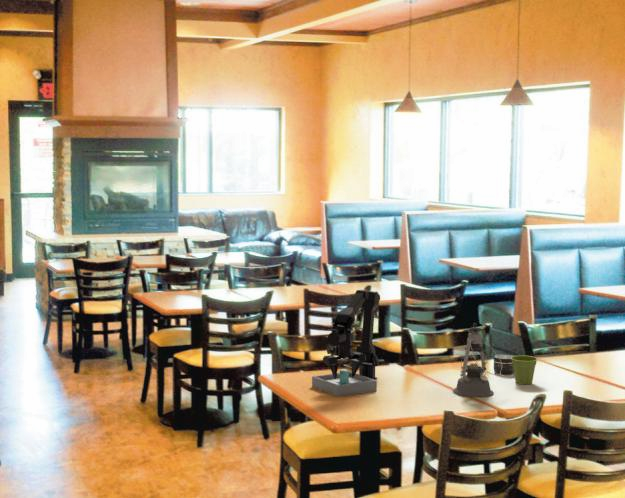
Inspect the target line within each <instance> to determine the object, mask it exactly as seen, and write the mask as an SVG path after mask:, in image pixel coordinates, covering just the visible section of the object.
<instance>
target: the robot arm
mask: <svg viewBox="0 0 625 498" xmlns="http://www.w3.org/2000/svg"><path fill="white" fill-rule="evenodd" d="M380 302H381V295H380V294H379V292H378V291H375V290H367V289H366V290H365V289H356V291H355V294H354V295H353V297H352V298H351V300H350V302H348V305H347V306H346V307H345V308H343V309H341V310H340V311H339V312H337V314H336V315H335V318H334V321H333V324H332V326H331V332H330V333H329V334H328V336H327V342H328V344H329V345H330V346H326V352H327V354H326V355H324V356H323V357H322V363H324V364H325V365H327V366H328V367H329V368H330V371H331V374H333V377H334V379H336V378H337V373H338V370H339V364H338V362H341V361H350V360H351V363H352V368H351V372H352V377H354V376H355V374H357V372H358V370H359V372H358V374H359V375H362V376H365V377H368V378H371V379H374V380H377V379H378V377H377V376H376V367H378V366H379V361H380V360H379V358H378V356H377V355H376V348H375V346H374V343H373V338H374V337H373V336H374V327H375V326H374V324H375V311H376V310H377V308H378V307H379V306H380ZM360 308H362V309H363V315H362V316H363V317H362V319H363V320H362V329H361V341H362V342H361V344H360V345H359V346H358V347H357V352H355V353H352V354H351V348H352V347H353V345H351V342H352V331H354V328H353V326H354V324H355V322H356V315H357V313H358V312H359V310H360ZM359 366H360V367H359Z"/></svg>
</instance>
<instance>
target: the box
mask: <svg viewBox="0 0 625 498" xmlns="http://www.w3.org/2000/svg"><path fill="white" fill-rule="evenodd" d="M377 381H378V380H377V379H371V378H368V377H365V376H362V375H359V373H356V374H355V376H354V377H352V371H349V384H343V385H341V384H340V372H337V378H336V379H334V377H333V374H332V373H329V374H321V375H320V374H319V375H313V376H311V387H312V388H314V389H317V390H320V391H322V392H324V393H327V394H330V395H333V396H335V397H343V396H349V395H357V394H358V395H359V394H364V393H371V392H377V390H378V389H377V385H378V384H377Z"/></svg>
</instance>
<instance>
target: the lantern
mask: <svg viewBox="0 0 625 498" xmlns="http://www.w3.org/2000/svg"><path fill="white" fill-rule="evenodd" d="M474 325H475V326H474ZM476 325H477V323H476V322H475V323H473V327H470V328H468V331H470V332H468V337H467V338H466V346H465V348H464V350H465V354H464V356H463V355H462V356H461V358H463V359H461V361H460V362H461V363H460V365H461V367H460V368H461V369H460V375H459V376H460V378H458V379H457V382H456V387H455V388H454V389H452V393H453V394H455V395H456V396H457V395H458V396H460V397H466V398H476V399H477V398H487V397H491V396H493V395H494V393H495V392H494V391H493V389H491V385H490V381H489V378H488V377H487V376H486V375H487V374H490V375H493V376H498V377H499V376H500V375H502V374H501V372H500V374H496V373H495V374H494V373H491V372H489V371H487V367H486V366H487V364H488V358H487V356H486V355H485V354H484V350H485V349H484V346H483V345H484V344H485V345H487V346H488V347H489V348H490V349H492V350H493V352H494V353H495V354H496V355H497V356H498V355H499V354H497V353H496V351H495V350H494V349H493V347H492V346H491V345H489V344H488V343H486V341H485V339H484V335H482V333H480V331H481V328H479V327H477V326H476ZM483 342H484V344H483ZM470 352H472V353H470ZM474 352H475V353H474ZM477 353H478V354H479V355H480V359H479V358H477V357H475V354H477ZM472 355H473V356H472ZM470 356H472V357H473V358H474V361H475V363H473V362H469V358H470ZM485 358H486V359H485ZM498 358H499V357H498ZM476 359H477V360H479V361H480V362H481V365H480V364H479V363H478V362H477V360H476ZM499 359H500V358H499ZM462 360H463V362H462ZM500 361H501V360H500ZM462 363H463V364H462ZM468 363H469V365H468ZM501 365H502V362H501ZM501 369H502V368H501Z"/></svg>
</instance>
